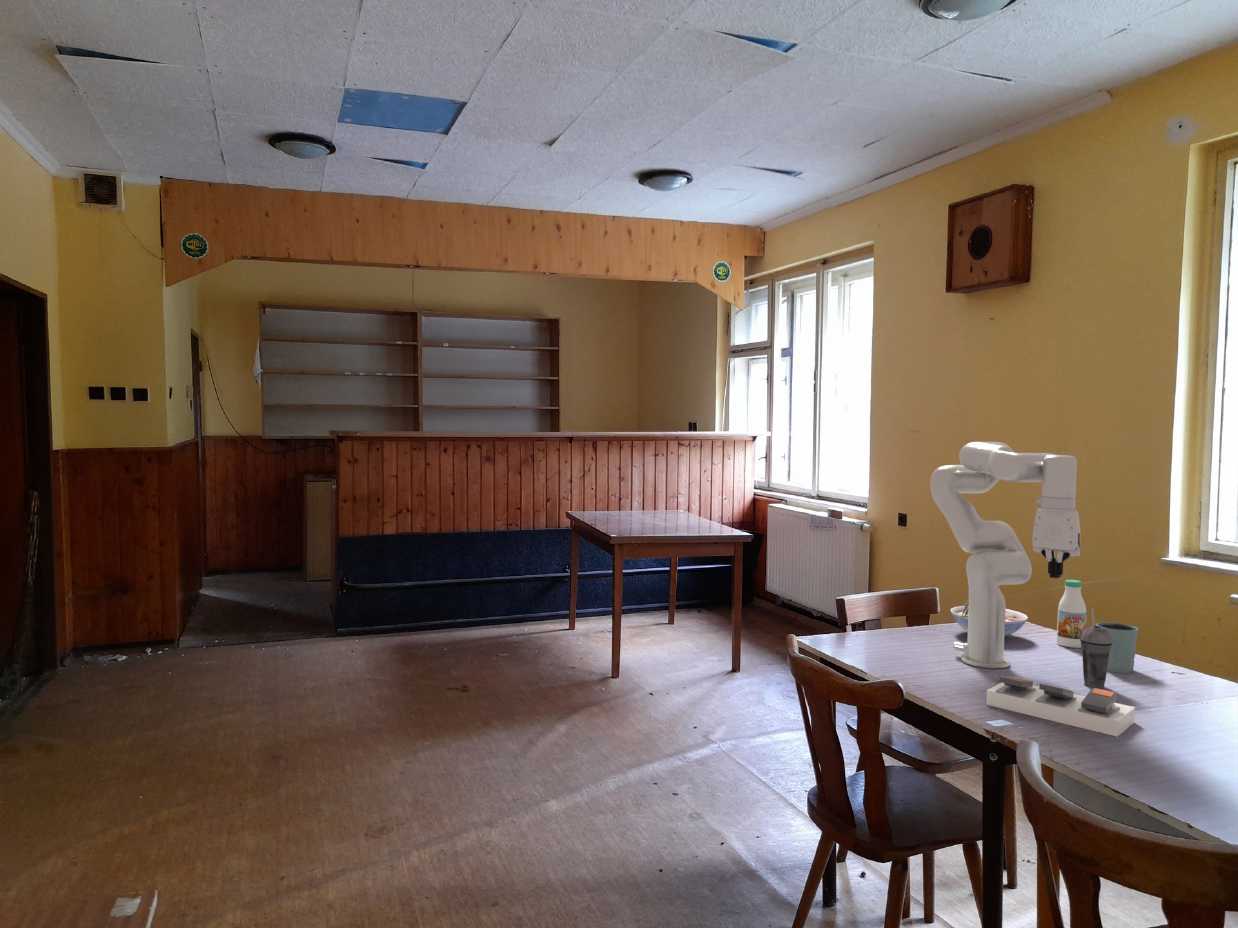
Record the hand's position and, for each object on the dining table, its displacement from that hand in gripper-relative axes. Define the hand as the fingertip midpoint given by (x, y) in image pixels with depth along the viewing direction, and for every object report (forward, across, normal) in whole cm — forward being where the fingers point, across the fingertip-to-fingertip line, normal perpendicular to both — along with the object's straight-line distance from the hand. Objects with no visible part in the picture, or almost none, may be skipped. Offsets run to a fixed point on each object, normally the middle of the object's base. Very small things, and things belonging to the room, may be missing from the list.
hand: (1055, 577), depth 211 cm
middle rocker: (+24, +7, -18) cm, 31 cm away
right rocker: (+24, +16, -18) cm, 34 cm away
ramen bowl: (+29, -34, +46) cm, 64 cm away
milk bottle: (+29, -12, +54) cm, 63 cm away
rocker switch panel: (+29, +7, -16) cm, 34 cm away
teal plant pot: (+29, +5, +36) cm, 47 cm away
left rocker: (+24, -2, -18) cm, 30 cm away
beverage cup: (+29, +6, +14) cm, 33 cm away
